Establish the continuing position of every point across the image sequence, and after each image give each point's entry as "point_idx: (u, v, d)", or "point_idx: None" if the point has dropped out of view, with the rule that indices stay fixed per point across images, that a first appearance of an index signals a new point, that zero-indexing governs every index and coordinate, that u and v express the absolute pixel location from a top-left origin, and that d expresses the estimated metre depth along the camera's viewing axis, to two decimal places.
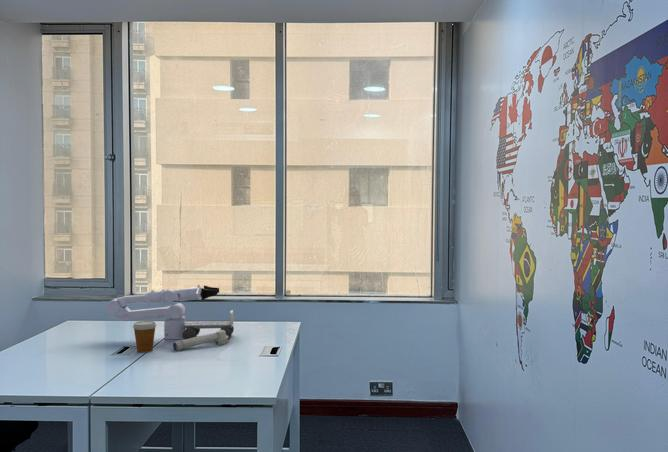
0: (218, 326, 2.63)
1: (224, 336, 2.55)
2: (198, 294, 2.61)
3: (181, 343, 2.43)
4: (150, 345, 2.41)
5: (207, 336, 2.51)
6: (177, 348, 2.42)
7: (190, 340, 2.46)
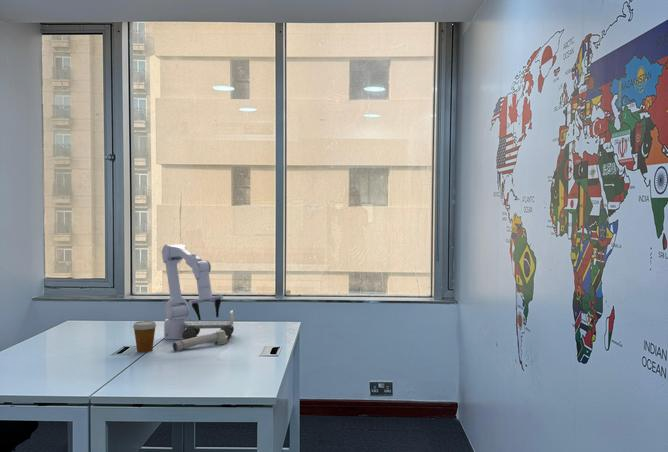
0: (218, 326, 2.63)
1: (224, 336, 2.55)
2: (189, 302, 2.46)
3: (181, 343, 2.43)
4: (150, 345, 2.41)
5: (207, 336, 2.51)
6: (177, 348, 2.42)
7: (190, 340, 2.46)
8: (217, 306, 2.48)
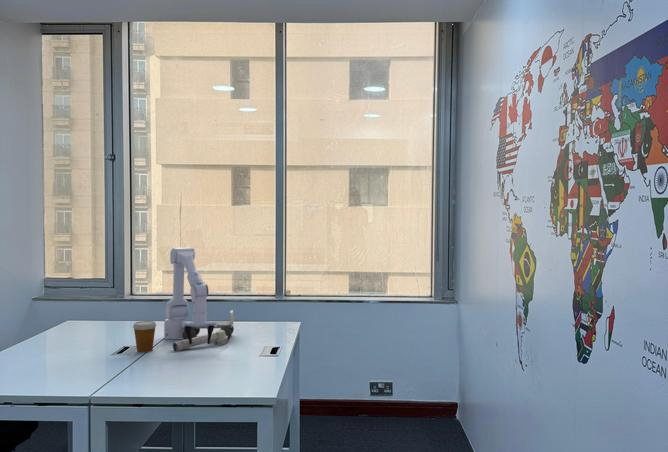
0: (218, 326, 2.63)
1: (224, 336, 2.55)
2: None
3: (181, 343, 2.43)
4: (150, 345, 2.41)
5: (207, 336, 2.51)
6: (177, 348, 2.41)
7: None
8: (209, 333, 2.43)
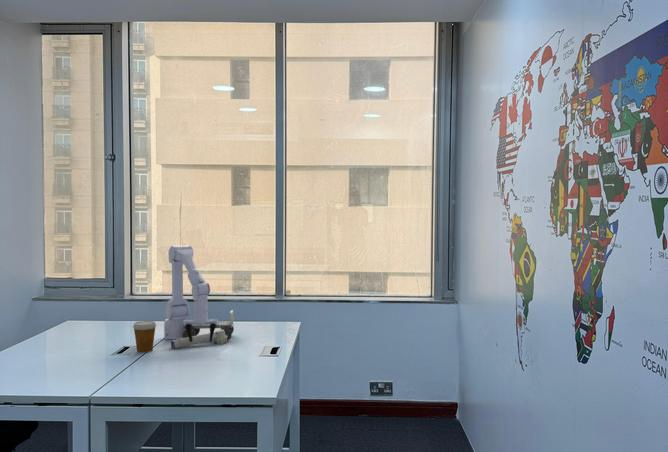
0: (218, 326, 2.63)
1: (223, 336, 2.57)
2: None
3: (178, 342, 2.47)
4: (150, 345, 2.41)
5: (205, 335, 2.53)
6: (174, 346, 2.45)
7: (188, 339, 2.49)
8: (211, 331, 2.47)
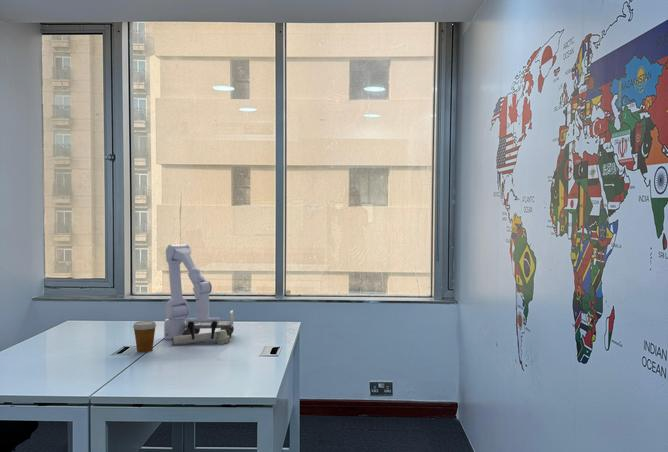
0: (218, 326, 2.63)
1: (223, 336, 2.56)
2: None
3: (177, 338, 2.53)
4: (150, 345, 2.41)
5: (206, 334, 2.56)
6: (173, 343, 2.52)
7: (187, 336, 2.54)
8: (212, 329, 2.52)
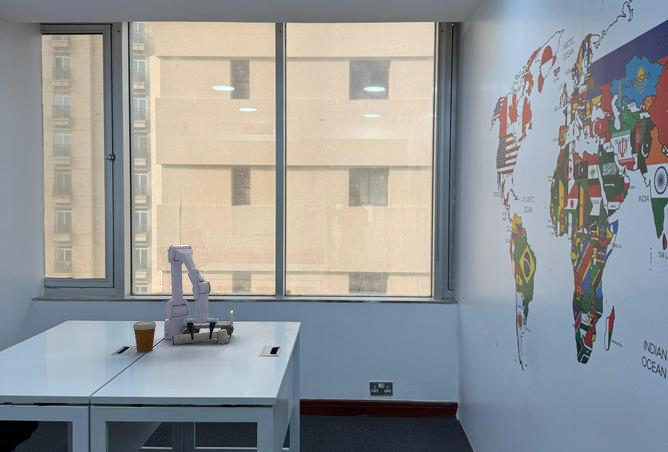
0: (218, 326, 2.63)
1: (224, 336, 2.56)
2: None
3: (178, 337, 2.54)
4: (150, 345, 2.41)
5: (206, 334, 2.56)
6: (173, 342, 2.53)
7: (188, 336, 2.55)
8: (210, 330, 2.49)
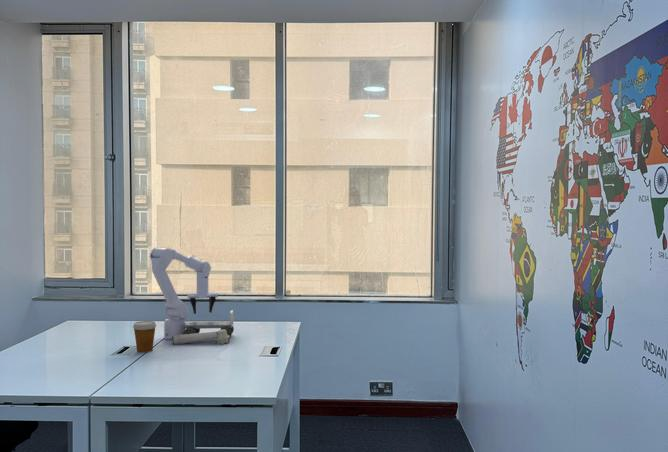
0: (218, 326, 2.63)
1: (223, 336, 2.56)
2: (187, 297, 2.77)
3: (178, 337, 2.54)
4: (150, 345, 2.41)
5: (205, 334, 2.56)
6: (173, 342, 2.53)
7: (187, 336, 2.55)
8: (212, 303, 2.81)
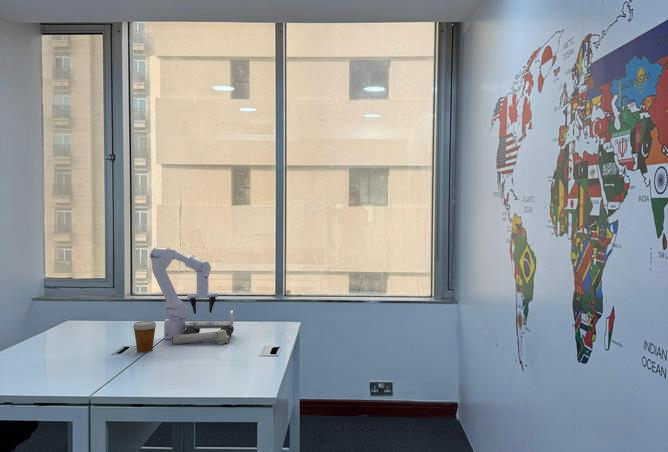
0: (218, 326, 2.63)
1: (223, 336, 2.55)
2: (187, 297, 2.77)
3: (177, 337, 2.54)
4: (150, 345, 2.41)
5: (205, 334, 2.55)
6: (173, 342, 2.53)
7: (187, 336, 2.55)
8: (212, 303, 2.81)
